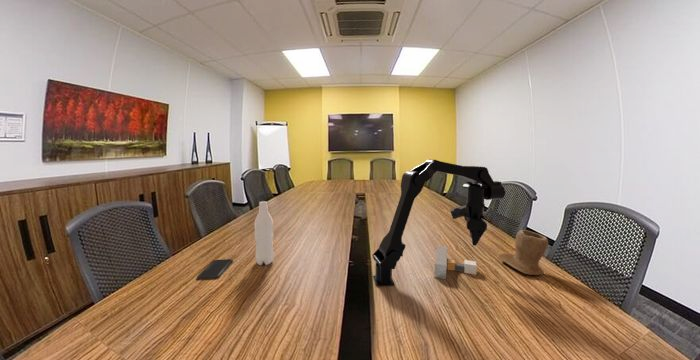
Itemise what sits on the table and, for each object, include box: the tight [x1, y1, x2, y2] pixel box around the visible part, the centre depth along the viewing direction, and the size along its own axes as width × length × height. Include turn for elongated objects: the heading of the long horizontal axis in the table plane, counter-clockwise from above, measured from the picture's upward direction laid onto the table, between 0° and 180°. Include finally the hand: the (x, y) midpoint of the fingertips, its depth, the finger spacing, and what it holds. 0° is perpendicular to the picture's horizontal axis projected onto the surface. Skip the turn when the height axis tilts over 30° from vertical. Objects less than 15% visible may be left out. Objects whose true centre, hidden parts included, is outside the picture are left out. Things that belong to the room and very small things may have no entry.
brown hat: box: [497, 229, 549, 276], centre depth 101 cm, size 15×12×15 cm
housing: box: [433, 245, 448, 280], centre depth 102 cm, size 4×20×5 cm, turn 159°
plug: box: [446, 258, 478, 275], centre depth 99 cm, size 10×4×4 cm, turn 69°
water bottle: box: [253, 200, 275, 266], centre depth 104 cm, size 7×7×25 cm
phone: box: [196, 258, 234, 280], centre depth 99 cm, size 8×1×15 cm
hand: (473, 241), depth 97 cm, fingers open, 9 cm apart
